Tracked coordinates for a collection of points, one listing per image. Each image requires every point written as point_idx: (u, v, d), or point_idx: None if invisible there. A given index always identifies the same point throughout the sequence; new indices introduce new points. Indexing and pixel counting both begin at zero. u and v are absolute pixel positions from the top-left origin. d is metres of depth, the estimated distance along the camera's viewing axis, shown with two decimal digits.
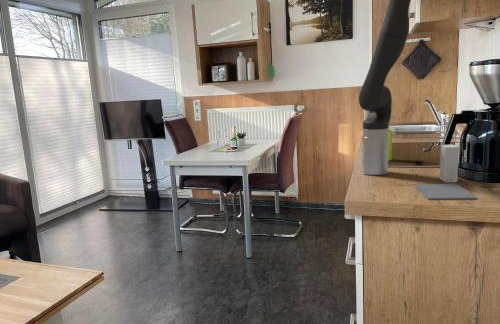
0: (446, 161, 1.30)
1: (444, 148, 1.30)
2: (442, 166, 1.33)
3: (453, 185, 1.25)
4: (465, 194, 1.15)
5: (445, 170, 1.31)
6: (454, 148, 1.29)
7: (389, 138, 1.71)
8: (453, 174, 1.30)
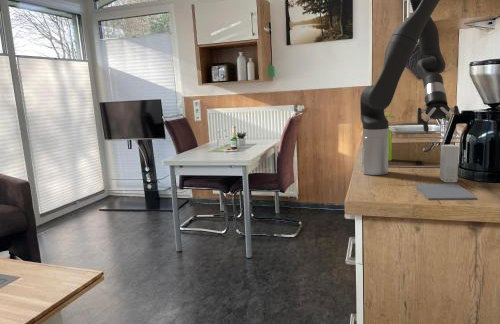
0: (446, 161, 1.30)
1: (444, 148, 1.30)
2: (442, 166, 1.33)
3: (453, 185, 1.25)
4: (465, 194, 1.15)
5: (445, 170, 1.31)
6: (454, 148, 1.29)
7: (389, 138, 1.71)
8: (453, 174, 1.30)
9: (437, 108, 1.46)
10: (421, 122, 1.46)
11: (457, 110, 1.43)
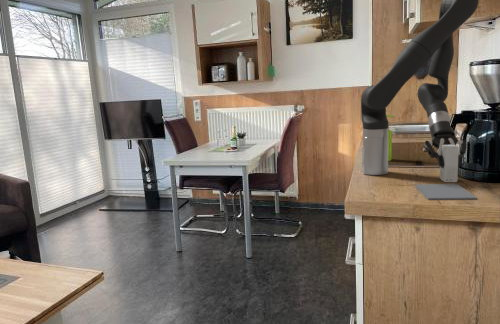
0: (446, 161, 1.30)
1: (444, 148, 1.30)
2: None
3: (453, 185, 1.25)
4: (465, 194, 1.15)
5: (445, 170, 1.31)
6: (454, 148, 1.29)
7: (389, 138, 1.71)
8: (453, 174, 1.30)
9: (445, 139, 1.36)
10: (435, 156, 1.34)
11: (464, 144, 1.33)
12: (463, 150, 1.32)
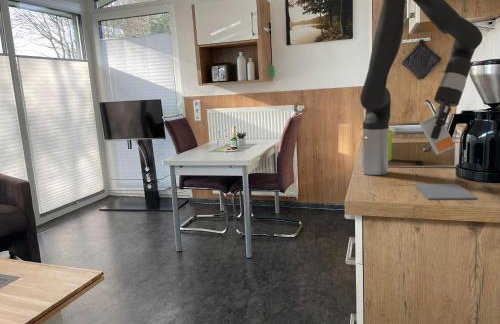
0: (426, 136, 1.31)
1: None
2: None
3: (453, 185, 1.25)
4: (465, 194, 1.15)
5: None
6: (420, 123, 1.29)
7: (389, 138, 1.71)
8: (433, 147, 1.28)
9: None
10: None
11: (440, 112, 1.23)
12: (437, 119, 1.24)
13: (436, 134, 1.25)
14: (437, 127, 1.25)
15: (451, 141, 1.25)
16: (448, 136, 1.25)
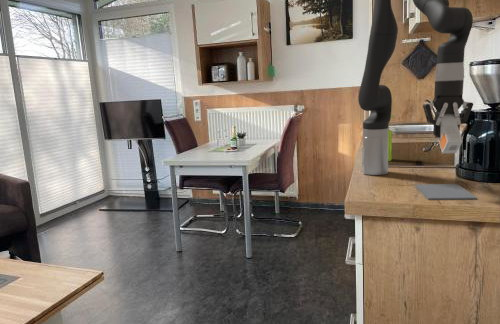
0: None
1: None
2: None
3: (453, 185, 1.25)
4: (465, 194, 1.15)
5: None
6: None
7: (389, 138, 1.71)
8: None
9: None
10: None
11: None
12: None
13: (434, 133, 1.18)
14: (434, 125, 1.18)
15: (445, 137, 1.13)
16: (443, 132, 1.14)
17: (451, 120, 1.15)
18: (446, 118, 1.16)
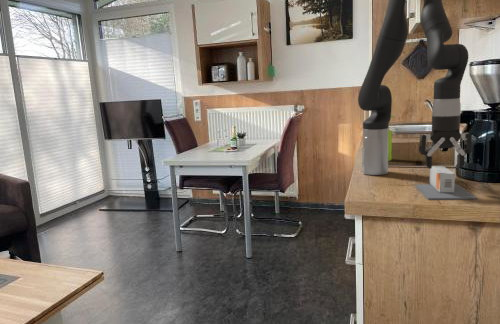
0: None
1: None
2: None
3: None
4: (465, 194, 1.15)
5: None
6: None
7: (389, 138, 1.71)
8: None
9: None
10: None
11: None
12: None
13: (426, 164, 1.19)
14: (425, 156, 1.19)
15: (438, 174, 1.19)
16: (436, 173, 1.21)
17: (442, 168, 1.24)
18: (438, 167, 1.25)
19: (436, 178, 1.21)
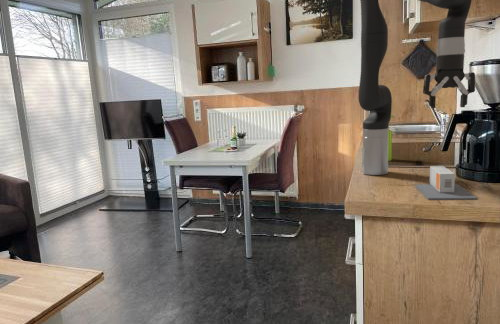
0: None
1: None
2: None
3: None
4: (465, 194, 1.15)
5: None
6: None
7: (389, 138, 1.71)
8: None
9: None
10: None
11: None
12: None
13: (430, 104, 1.22)
14: (429, 97, 1.22)
15: (438, 174, 1.19)
16: (436, 173, 1.21)
17: (442, 168, 1.24)
18: (438, 167, 1.25)
19: (436, 178, 1.21)
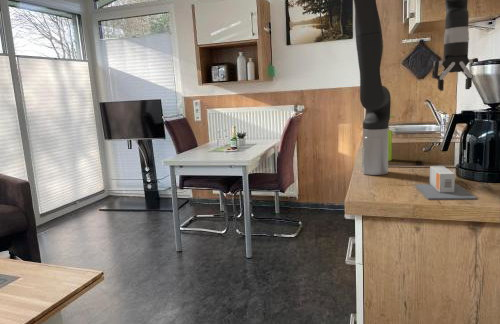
0: None
1: None
2: None
3: None
4: (465, 194, 1.15)
5: None
6: None
7: (389, 138, 1.71)
8: None
9: None
10: None
11: None
12: None
13: (438, 87, 1.38)
14: (438, 80, 1.38)
15: (438, 174, 1.19)
16: (436, 173, 1.21)
17: (442, 168, 1.24)
18: (438, 167, 1.25)
19: (436, 178, 1.21)
